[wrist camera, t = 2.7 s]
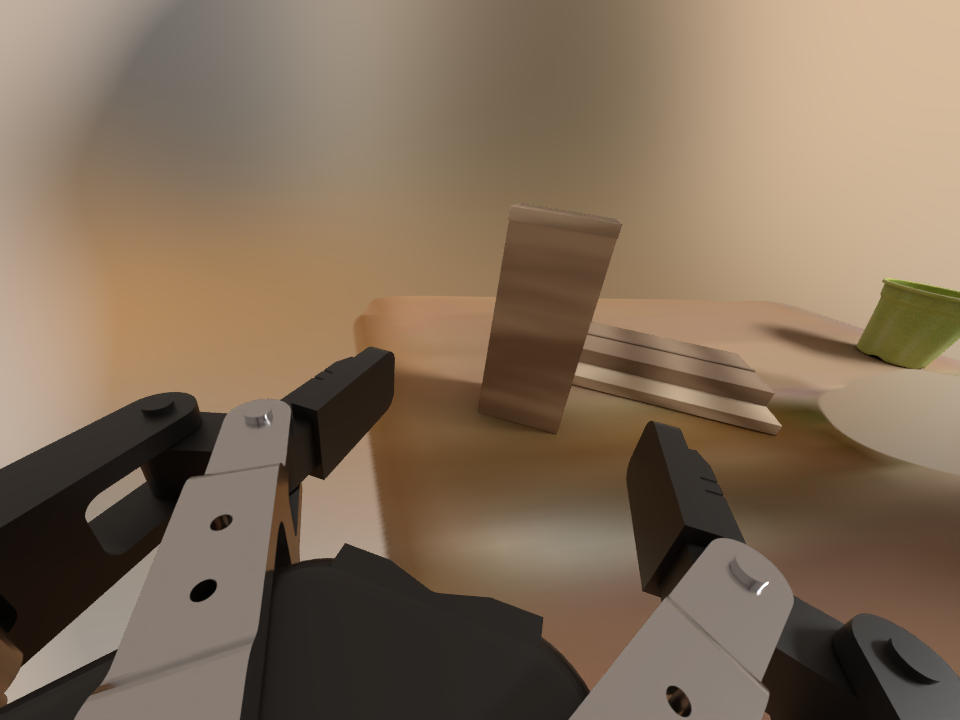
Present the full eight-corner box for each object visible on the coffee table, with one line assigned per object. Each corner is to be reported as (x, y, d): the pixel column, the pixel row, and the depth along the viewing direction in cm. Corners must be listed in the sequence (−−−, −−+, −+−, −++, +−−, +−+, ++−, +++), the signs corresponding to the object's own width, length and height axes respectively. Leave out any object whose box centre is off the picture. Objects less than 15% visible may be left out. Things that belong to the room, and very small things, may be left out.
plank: (556, 434, 21) (621, 224, 15) (476, 412, 22) (510, 205, 16) (560, 402, 24) (615, 218, 18) (490, 384, 25) (522, 203, 19)
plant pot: (967, 387, 38) (1039, 312, 33) (860, 361, 40) (915, 289, 36) (912, 355, 45) (965, 291, 41) (826, 335, 48) (867, 273, 44)
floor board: (727, 372, 32) (738, 352, 31) (776, 435, 24) (792, 411, 23) (537, 329, 35) (541, 310, 34) (522, 371, 27) (528, 347, 26)
